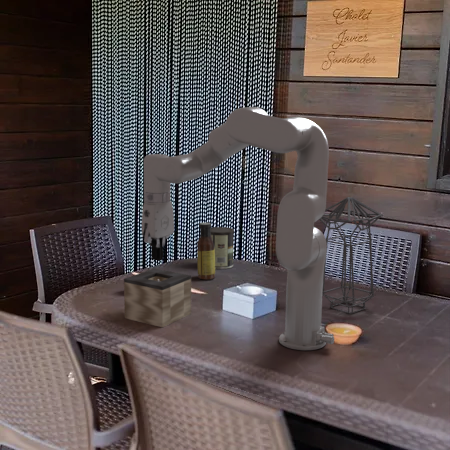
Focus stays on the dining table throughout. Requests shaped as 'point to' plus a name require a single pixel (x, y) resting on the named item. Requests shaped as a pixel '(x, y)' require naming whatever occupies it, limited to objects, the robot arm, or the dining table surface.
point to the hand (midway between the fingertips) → (157, 259)
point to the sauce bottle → (205, 253)
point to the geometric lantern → (340, 210)
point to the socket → (157, 297)
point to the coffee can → (223, 246)
